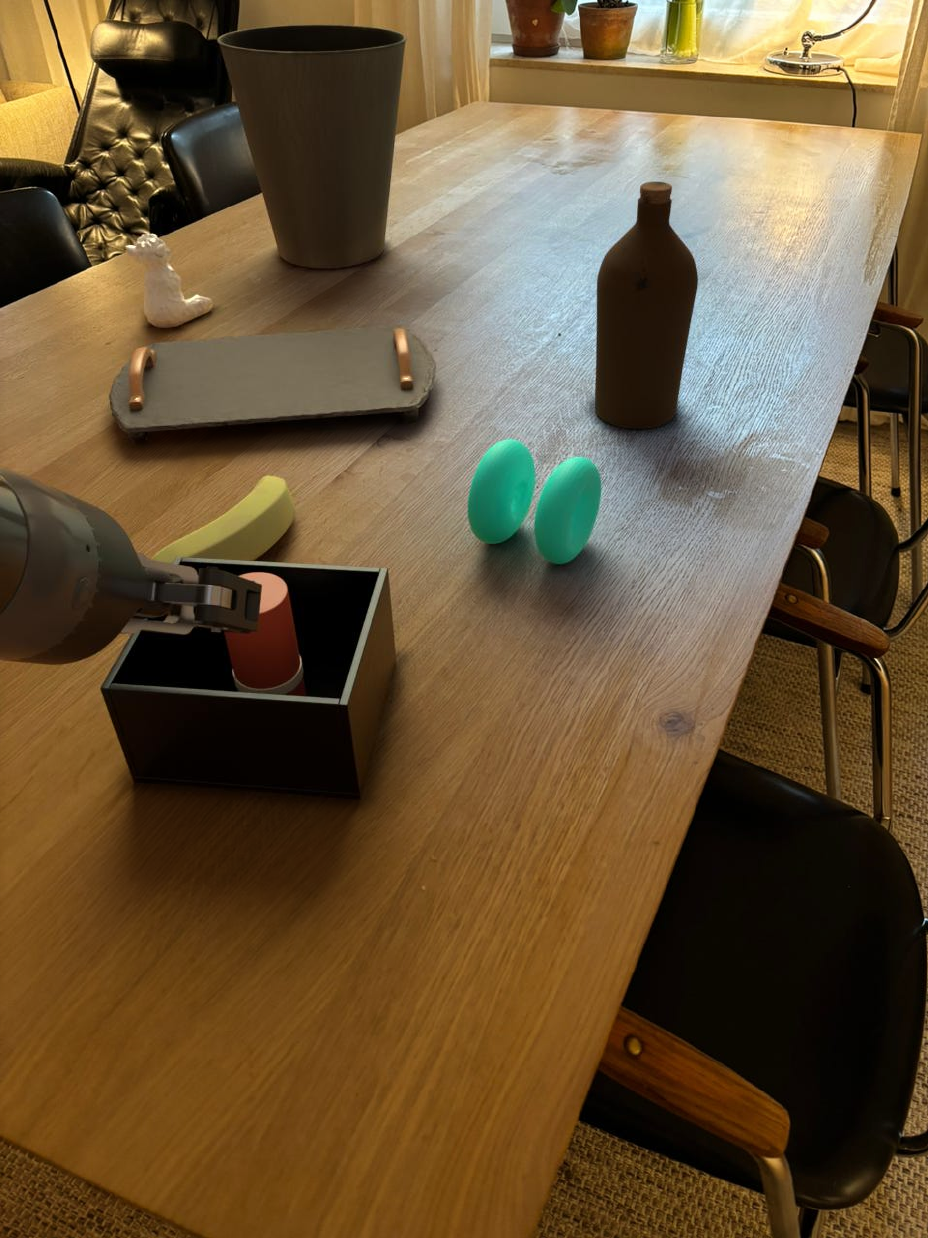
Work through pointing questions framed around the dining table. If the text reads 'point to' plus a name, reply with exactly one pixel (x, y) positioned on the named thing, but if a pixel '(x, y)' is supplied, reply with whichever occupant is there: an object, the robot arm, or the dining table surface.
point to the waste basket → (320, 133)
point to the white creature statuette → (164, 286)
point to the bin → (254, 722)
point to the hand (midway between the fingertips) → (164, 608)
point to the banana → (240, 527)
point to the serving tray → (272, 379)
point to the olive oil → (644, 317)
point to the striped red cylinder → (268, 645)
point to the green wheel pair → (509, 493)
